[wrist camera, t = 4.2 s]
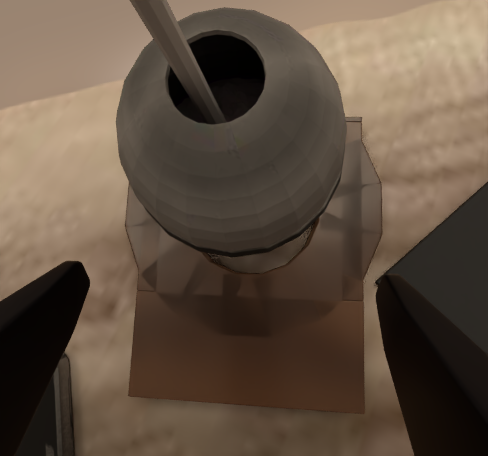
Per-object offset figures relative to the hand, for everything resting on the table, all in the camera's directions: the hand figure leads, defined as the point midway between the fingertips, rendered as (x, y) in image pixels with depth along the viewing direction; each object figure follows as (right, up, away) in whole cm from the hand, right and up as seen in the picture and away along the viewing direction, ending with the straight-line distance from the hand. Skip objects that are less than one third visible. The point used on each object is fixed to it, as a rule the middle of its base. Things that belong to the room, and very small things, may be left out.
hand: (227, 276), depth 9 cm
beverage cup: (+1, +3, +13) cm, 13 cm away
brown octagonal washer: (+1, +1, +12) cm, 12 cm away
